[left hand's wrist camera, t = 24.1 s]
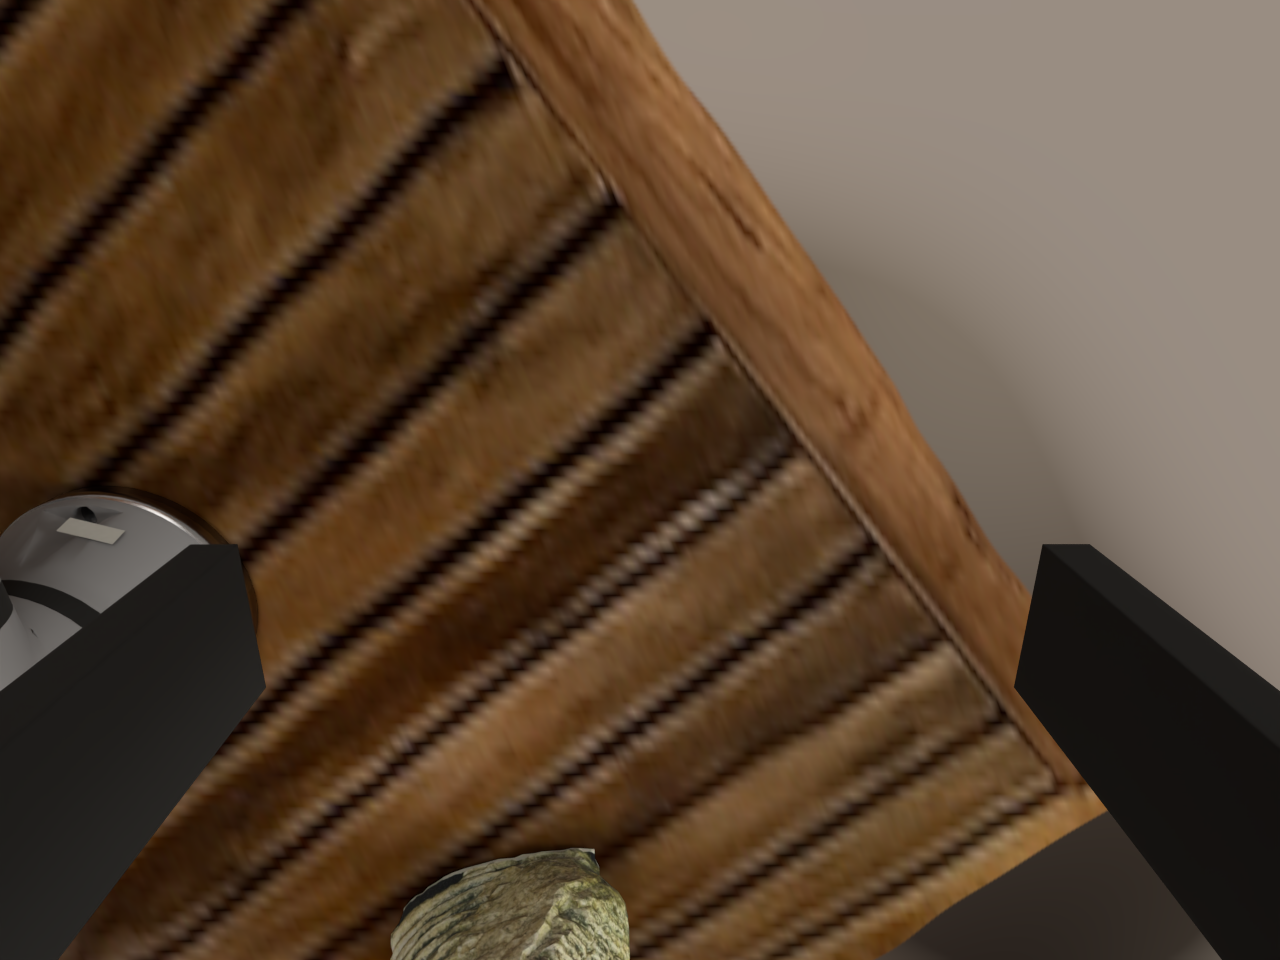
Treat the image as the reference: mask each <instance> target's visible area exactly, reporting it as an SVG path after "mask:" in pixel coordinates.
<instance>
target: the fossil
mask: <svg viewBox="0 0 1280 960" xmlns="http://www.w3.org/2000/svg"><path fill="white" fill-rule="evenodd" d="M599 870H600V869H599V866H598V864H597V862H596V860H595V850H594V849H584V848H570V849H566V850H556V851H543V852H537V853H532V854H522V855H520V856H518V857H515V858H505V859H497V860H493V861H490V862H486V863H482V864H479V865H475V866H472V867H468V868H465V869H462V870H459V871H456V872H453V873H451V874H449V875H447V876H445V877H443V878H442V879H440V880H439V881H437V882H436V883H434V884H432V885H431V886H429V887H428V888H427V889H426V890H425V891H424V892H423V893H421V894H419V895H417V896H415V897H414V898H413V899H412V900H411V901H410V902H409V903H408V904H407V905H406V906H405V908H404V911H403V915H402V917H401V920H400V922H399V924H398V925H397V927H396V928H395V930H394V931H393V932H392V934H391V948H392V952H393V955H392V957H391V960H630V950H629V925H628V915H627V911H626V906H625V902H624V900H623V898H622V897H621V895H620V894H619V892H618V891H617V890H615V889H614V888H613V887H612V886H610V885H609V884H608V883H607V882H606V881H605V880H604V879H603V878H602V877H601V876H600V875H599Z"/></svg>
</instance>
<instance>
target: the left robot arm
mask: <svg viewBox="0 0 1280 960" xmlns="http://www.w3.org/2000/svg"><path fill="white" fill-rule="evenodd" d="M257 625H258V608H257V600H256V596H255V592H254V588H253V585H252V582H251V580H250V577H249V575H248V573H247V571H246V569H245V567H244V565H243V564H242V562H241V560H240V555H239V550H238V545H237V544H228V543H227V541H226V540H225V539H224V538H223V537H222V536H221V535H220V534H219V533H218V532H217V531H216V530H215V529H214V528H213V527H211V526H210V525H209V524H208V523H207V522H205V521H204V520H203V519H201V518H200V517H199V516H197V515H196V514H194V513H193V512H191V511H189V510H188V509H186V508H185V507H183V506H181V505H179V504H177V503H175V502H173V501H171V500H168V499H166V498H164V497H161V496H159V495H156V494H153V493H149V492H146V491H142V490H138V489H133V488H127V487H118V486H95V487H86V488H81V489H77V490H72V491H70V492H67V493H64V494H61V495H59V496H57V497H55V498H53V499H51V500H49V501H47V502H45V503H43V504H41V505H39V506H37V507H35V508H33V509H31V510H29V511H28V512H26V513H25V514H23V515H21V516H20V517H19V518H18V519H16V520H15V521H14V522H13V523H12V524H11V525H10V526H9V527H8V528H7V529H6V530H5V531H4V533H3V534H2V535H1V537H0V960H58V959H59V958H60V956H61V955H62V954H63V952H64V951H65V950H66V949H67V947H68V946H69V945H70V943H71V942H72V941H73V939H74V938H75V937H76V935H77V934H78V933H79V932H80V930H81V929H82V928H83V926H84V925H85V924H86V922H87V921H88V920H89V918H90V917H91V916H92V914H93V913H94V912H95V911H96V909H97V908H98V907H99V905H100V904H101V903H102V901H103V900H104V899H105V897H106V896H107V895H108V894H109V892H110V891H111V890H112V888H113V887H114V886H115V884H116V883H117V882H118V880H119V879H120V878H121V876H122V875H123V874H124V873H125V871H126V870H127V869H128V867H129V866H130V865H131V863H132V862H133V861H134V859H135V858H136V857H137V856H138V854H139V853H140V852H141V850H142V849H143V848H144V846H145V845H146V844H147V842H148V841H149V840H150V838H151V837H152V836H153V835H154V833H155V832H156V831H157V829H158V828H159V827H160V825H161V824H162V823H163V821H164V820H165V819H166V818H167V816H168V815H169V814H170V812H171V811H172V810H173V808H174V807H175V806H176V804H177V803H178V802H179V800H180V799H181V798H182V797H183V795H184V794H185V793H186V791H187V790H188V789H189V787H190V786H191V785H192V783H193V782H194V781H195V779H196V778H197V777H198V776H199V774H200V773H201V772H202V770H203V769H204V768H205V766H206V765H207V764H208V762H209V761H210V760H211V759H212V757H213V756H214V755H215V753H216V752H217V751H218V749H219V748H220V747H221V745H222V744H223V743H224V741H225V740H226V739H227V738H228V736H229V735H230V734H231V732H232V731H233V730H234V728H235V727H236V726H237V724H238V723H239V722H240V721H241V719H242V718H243V717H244V715H245V714H246V713H247V711H248V710H249V709H250V707H251V706H252V705H253V703H254V702H255V701H256V700H257V698H258V697H259V696H260V694H261V693H262V692H263V690H264V689H265V688H266V685H265V680H264V675H263V670H262V665H261V660H260V655H259V650H258V645H257V640H256V633H257ZM1014 688H1015V689H1016V690H1017V692H1018V693H1019V694H1020V696H1021V697H1022V698H1023V700H1024V701H1025V702H1026V703H1027V705H1028V706H1029V707H1030V709H1031V710H1032V711H1033V713H1034V714H1035V715H1036V717H1037V718H1038V719H1039V721H1040V722H1041V723H1042V724H1043V726H1044V727H1045V728H1046V730H1047V731H1048V732H1049V734H1050V735H1051V736H1052V738H1053V739H1054V740H1055V741H1056V743H1057V744H1058V745H1059V747H1060V748H1061V749H1062V751H1063V752H1064V753H1065V755H1066V756H1067V757H1068V759H1069V760H1070V761H1071V762H1072V764H1073V765H1074V766H1075V768H1076V769H1077V770H1078V772H1079V773H1080V774H1081V776H1082V777H1083V778H1084V779H1085V781H1086V782H1087V783H1088V785H1089V786H1090V787H1091V789H1092V790H1093V791H1094V793H1095V794H1096V795H1097V797H1098V798H1099V799H1100V800H1101V802H1102V803H1103V804H1104V806H1105V807H1106V808H1107V810H1108V811H1109V812H1110V814H1111V815H1112V816H1113V818H1114V819H1115V820H1116V821H1117V823H1118V824H1119V825H1120V827H1121V828H1122V829H1123V831H1124V832H1125V833H1126V835H1127V836H1128V837H1129V838H1130V840H1131V841H1132V842H1133V844H1134V845H1135V846H1136V848H1137V849H1138V850H1139V852H1140V853H1141V854H1142V855H1143V857H1144V858H1145V859H1146V861H1147V862H1148V863H1149V865H1150V866H1151V867H1152V869H1153V870H1154V871H1155V873H1156V874H1157V875H1158V876H1159V878H1160V879H1161V880H1162V882H1163V883H1164V884H1165V886H1166V887H1167V888H1168V890H1169V891H1170V892H1171V894H1172V895H1173V896H1174V897H1175V899H1176V900H1177V901H1178V903H1179V904H1180V905H1181V907H1182V908H1183V909H1184V910H1185V912H1186V913H1187V914H1188V916H1189V917H1190V918H1191V920H1192V921H1193V922H1194V924H1195V925H1196V926H1197V928H1198V929H1199V930H1200V932H1201V933H1202V934H1203V935H1204V937H1205V938H1206V939H1207V941H1208V942H1209V943H1210V945H1211V946H1212V947H1213V949H1214V950H1215V951H1216V952H1217V954H1218V955H1219V956H1220V958H1221V959H1222V960H1280V691H1279V690H1278V689H1276V688H1275V687H1274V686H1272V685H1271V684H1270V683H1269V682H1267V681H1266V680H1265V679H1263V678H1262V677H1261V676H1259V675H1258V674H1257V673H1256V672H1254V671H1253V670H1252V669H1250V668H1249V667H1248V666H1247V665H1245V664H1244V663H1243V662H1241V661H1240V660H1239V659H1237V658H1236V657H1235V656H1234V655H1232V654H1231V653H1230V652H1228V651H1227V650H1226V649H1225V648H1223V647H1222V646H1221V645H1219V644H1218V643H1217V642H1215V641H1214V640H1213V639H1211V638H1210V637H1209V636H1208V635H1206V634H1205V633H1204V632H1202V631H1201V630H1200V629H1199V628H1197V627H1196V626H1195V625H1193V624H1192V623H1191V622H1190V621H1188V620H1187V619H1186V618H1184V617H1183V616H1182V615H1180V614H1179V613H1178V612H1177V611H1175V610H1174V609H1173V608H1171V607H1170V606H1169V605H1168V604H1166V603H1165V602H1164V601H1162V600H1161V599H1160V598H1158V597H1157V596H1156V595H1155V594H1153V593H1152V592H1151V591H1149V590H1148V589H1147V588H1146V587H1144V586H1143V585H1142V584H1140V583H1139V582H1138V581H1136V580H1135V579H1134V578H1133V577H1131V576H1130V575H1129V574H1127V573H1126V572H1125V571H1123V570H1122V569H1121V568H1120V567H1118V566H1117V565H1116V564H1114V563H1113V562H1112V561H1111V560H1109V559H1108V558H1107V557H1105V556H1104V555H1103V554H1102V553H1100V552H1099V551H1098V550H1096V549H1095V548H1094V547H1092V546H1091V545H1090V544H1043V545H1042V550H1041V555H1040V560H1039V565H1038V570H1037V575H1036V580H1035V585H1034V590H1033V595H1032V600H1031V605H1030V610H1029V615H1028V620H1027V625H1026V630H1025V635H1024V640H1023V645H1022V650H1021V655H1020V660H1019V665H1018V670H1017V675H1016V680H1015V685H1014Z"/></svg>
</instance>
